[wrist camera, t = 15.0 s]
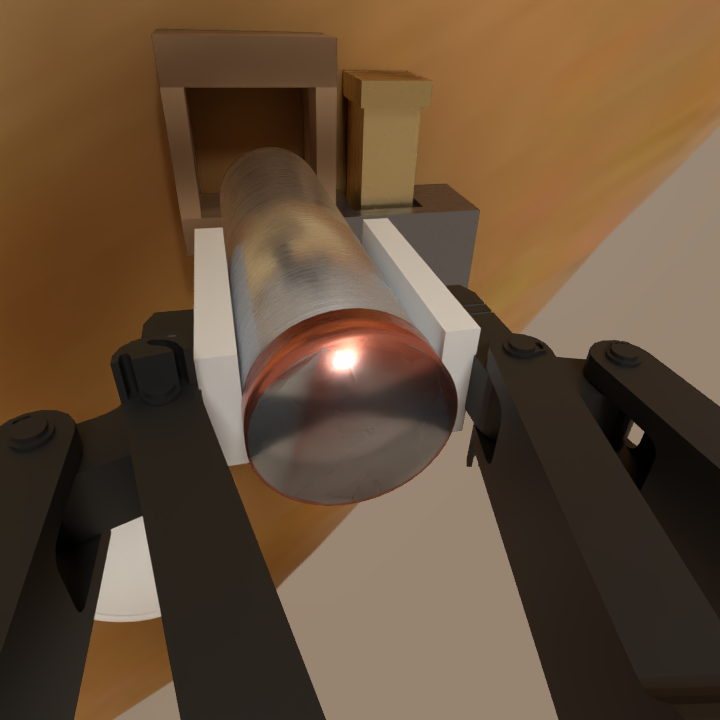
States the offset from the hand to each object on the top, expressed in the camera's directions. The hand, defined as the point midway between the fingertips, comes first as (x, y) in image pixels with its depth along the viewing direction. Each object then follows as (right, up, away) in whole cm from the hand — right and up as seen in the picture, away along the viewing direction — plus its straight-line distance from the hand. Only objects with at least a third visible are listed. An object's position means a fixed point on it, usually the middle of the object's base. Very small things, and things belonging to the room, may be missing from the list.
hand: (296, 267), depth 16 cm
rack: (-4, +10, +13) cm, 17 cm away
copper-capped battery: (-2, +4, +5) cm, 7 cm away
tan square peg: (+3, +8, +16) cm, 18 cm away
